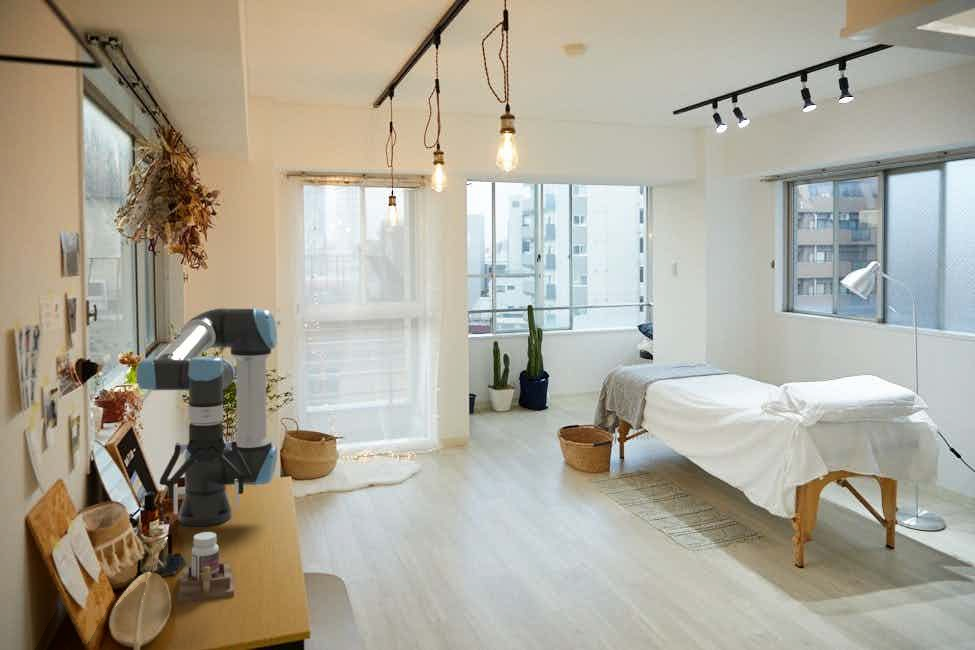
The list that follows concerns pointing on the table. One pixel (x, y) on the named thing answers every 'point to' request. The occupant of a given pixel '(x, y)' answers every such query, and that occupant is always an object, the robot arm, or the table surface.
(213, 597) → the holder
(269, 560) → the table surface
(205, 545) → the pill bottle
